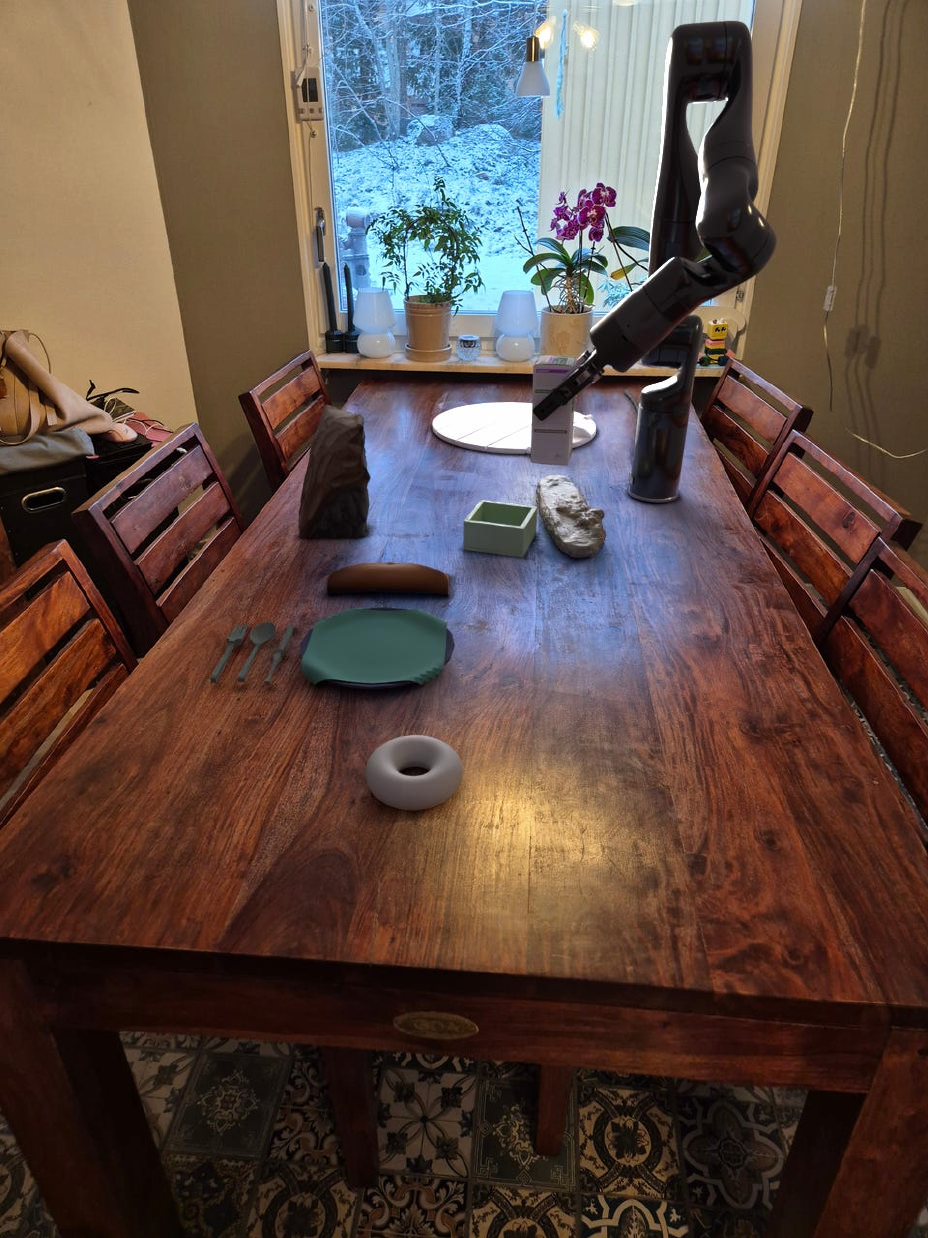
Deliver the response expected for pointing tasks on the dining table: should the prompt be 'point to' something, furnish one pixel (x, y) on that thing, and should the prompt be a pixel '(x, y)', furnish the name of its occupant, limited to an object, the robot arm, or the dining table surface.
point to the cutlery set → (359, 648)
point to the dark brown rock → (336, 479)
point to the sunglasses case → (388, 579)
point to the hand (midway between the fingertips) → (542, 409)
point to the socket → (500, 528)
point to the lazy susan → (500, 427)
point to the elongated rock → (570, 517)
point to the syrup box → (557, 429)
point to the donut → (414, 788)
